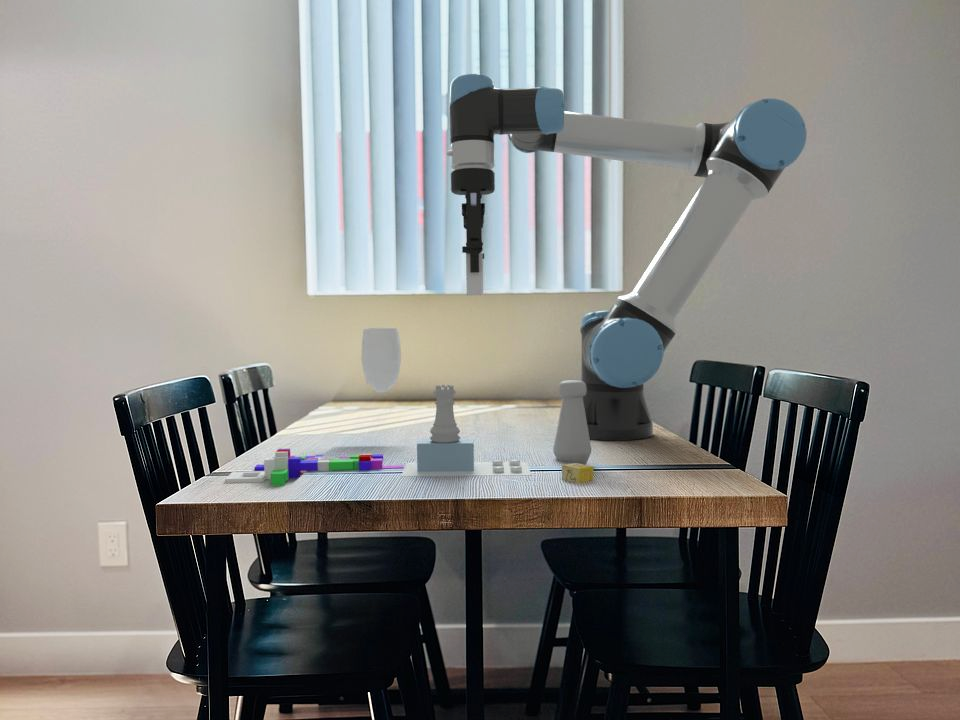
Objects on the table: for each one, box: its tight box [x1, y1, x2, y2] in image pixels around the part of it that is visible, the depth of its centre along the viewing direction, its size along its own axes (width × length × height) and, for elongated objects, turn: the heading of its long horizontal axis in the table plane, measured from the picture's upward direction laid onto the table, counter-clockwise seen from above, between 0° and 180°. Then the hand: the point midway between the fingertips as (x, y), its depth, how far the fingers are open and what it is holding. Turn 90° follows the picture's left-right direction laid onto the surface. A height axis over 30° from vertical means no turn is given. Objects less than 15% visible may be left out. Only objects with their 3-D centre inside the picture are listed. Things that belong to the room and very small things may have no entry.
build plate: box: [400, 459, 532, 477], centre depth 116 cm, size 18×10×2 cm, turn 90°
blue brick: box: [416, 438, 475, 472], centre depth 115 cm, size 8×4×4 cm, turn 90°
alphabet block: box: [561, 462, 594, 484], centre depth 108 cm, size 3×3×3 cm
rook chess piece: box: [429, 384, 461, 443], centre depth 115 cm, size 4×4×8 cm
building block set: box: [224, 448, 404, 487], centre depth 121 cm, size 25×20×4 cm
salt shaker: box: [552, 379, 592, 465], centre depth 122 cm, size 6×6×13 cm
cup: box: [361, 327, 402, 394], centre depth 146 cm, size 7×7×21 cm
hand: (474, 294), depth 139 cm, fingers open, 13 cm apart
